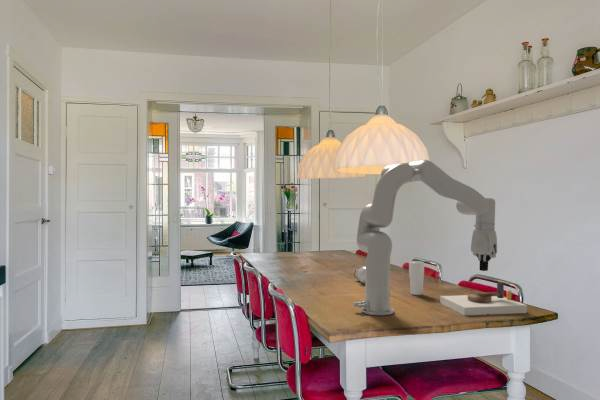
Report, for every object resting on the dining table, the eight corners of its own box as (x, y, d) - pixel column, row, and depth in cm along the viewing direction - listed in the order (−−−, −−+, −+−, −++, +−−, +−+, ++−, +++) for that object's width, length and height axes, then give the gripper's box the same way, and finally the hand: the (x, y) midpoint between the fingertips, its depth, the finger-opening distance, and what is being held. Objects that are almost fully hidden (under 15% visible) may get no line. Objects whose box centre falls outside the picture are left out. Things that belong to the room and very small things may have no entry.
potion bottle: (369, 288, 226) (357, 286, 240) (382, 276, 229) (370, 275, 243) (358, 274, 225) (347, 273, 240) (372, 262, 228) (360, 261, 243)
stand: (464, 315, 170) (464, 298, 170) (440, 303, 190) (440, 287, 190) (526, 312, 174) (526, 296, 174) (496, 301, 193) (497, 286, 193)
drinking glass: (412, 292, 212) (412, 260, 212) (426, 294, 207) (426, 261, 207) (406, 294, 206) (406, 262, 206) (420, 296, 202) (420, 263, 202)
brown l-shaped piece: (474, 302, 176) (474, 285, 176) (463, 297, 185) (463, 281, 185) (509, 301, 178) (509, 284, 178) (497, 296, 187) (497, 280, 187)
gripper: (464, 226, 194) (463, 268, 194) (494, 228, 181) (492, 273, 180) (476, 226, 197) (475, 267, 197) (506, 228, 184) (505, 272, 184)
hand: (483, 270), depth 189 cm, fingers closed
